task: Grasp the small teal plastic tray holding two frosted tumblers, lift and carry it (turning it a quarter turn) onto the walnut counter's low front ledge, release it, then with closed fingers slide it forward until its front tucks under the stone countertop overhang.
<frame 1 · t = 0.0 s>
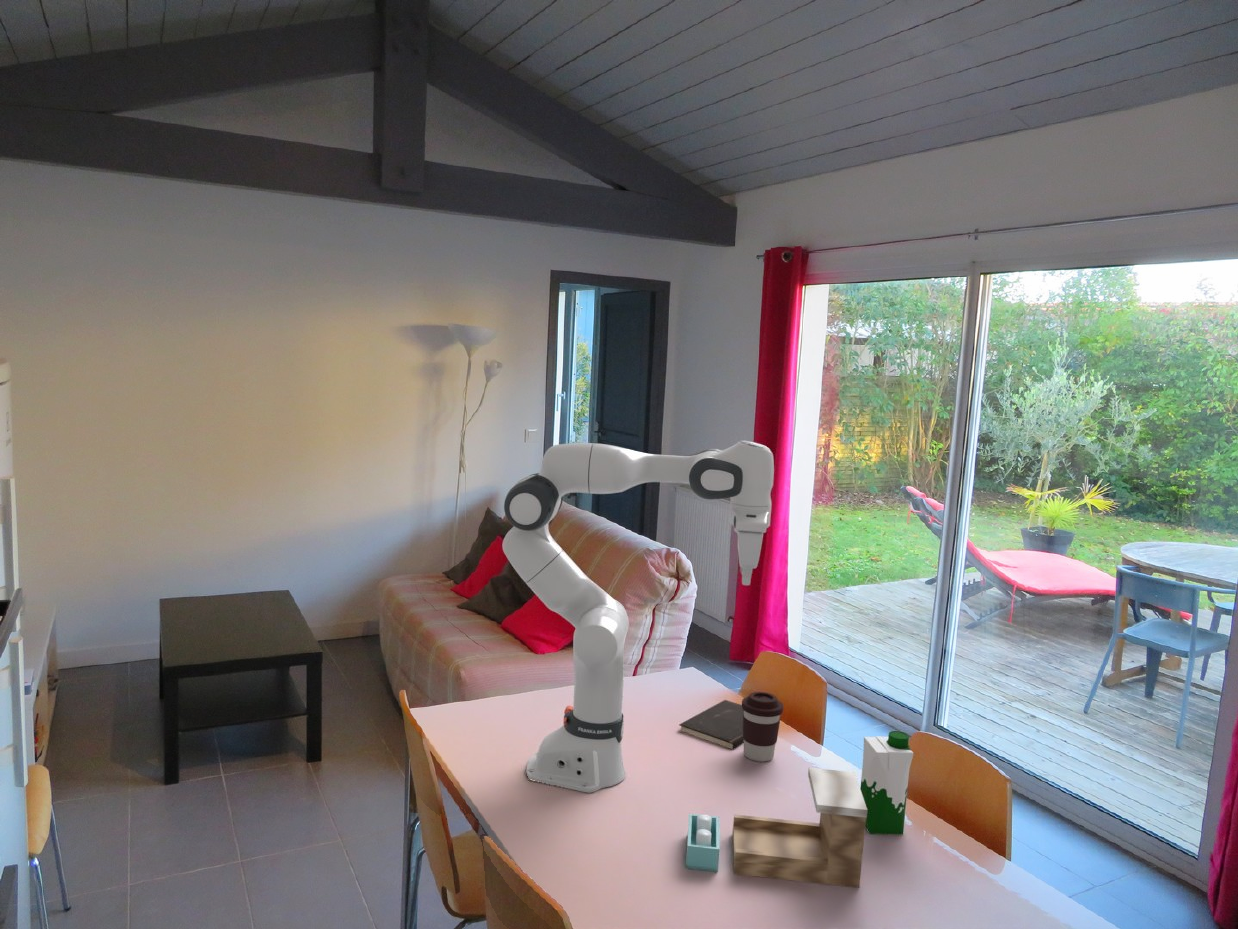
hand: (745, 579, 195), 48 cm above the table, fingers open, 8 cm apart
coffee cup: (758, 756, 218), on the table
milk carton: (879, 826, 188), on the table
hardcover book: (728, 729, 235), on the table
counter: (806, 861, 173), on the table
tray: (702, 852, 174), on the table
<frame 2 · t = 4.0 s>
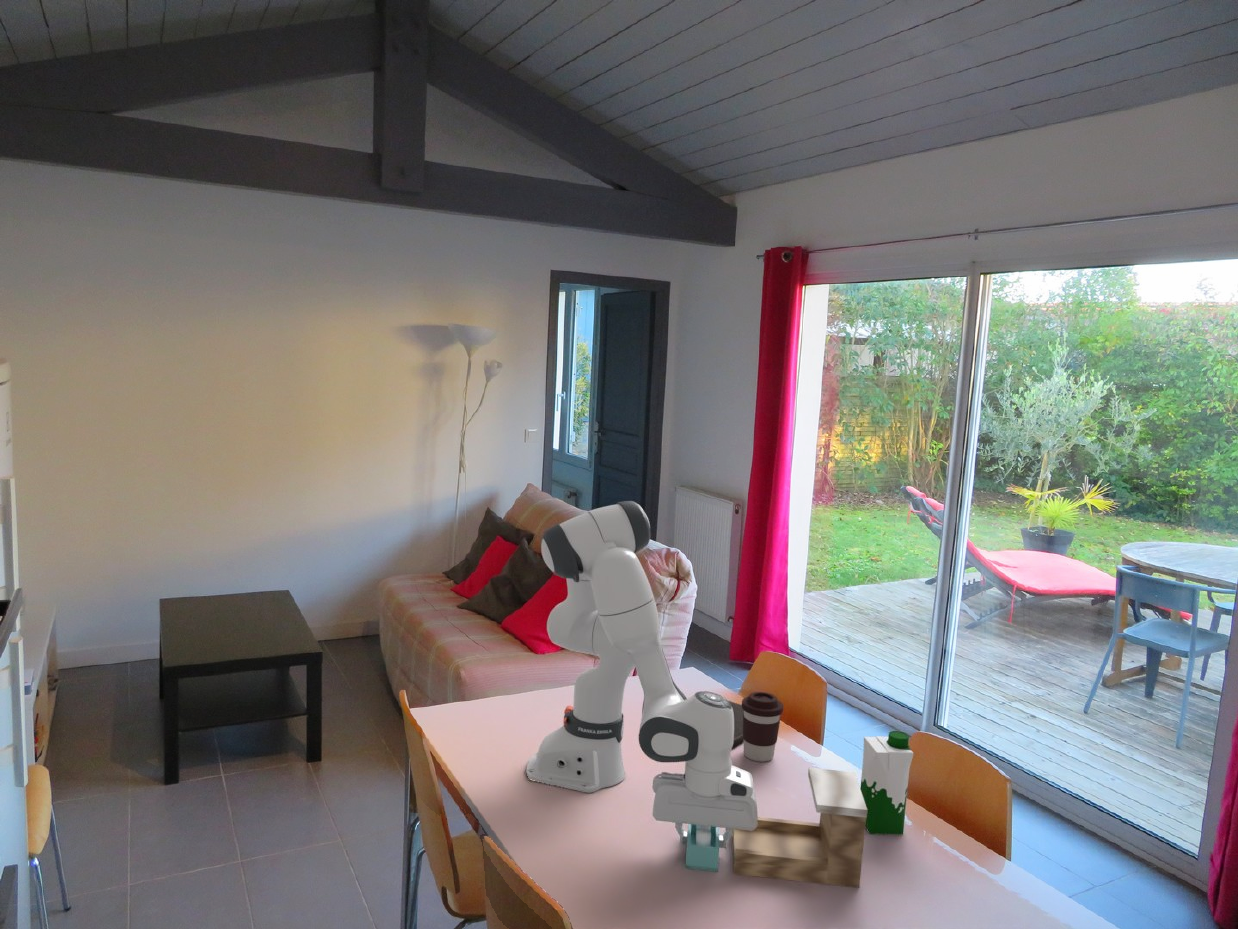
hand: (702, 844, 174), 2 cm above the table, fingers closed on tray, 6 cm apart
tray: (701, 852, 174), on the table, touching gripper
everything else where it was.
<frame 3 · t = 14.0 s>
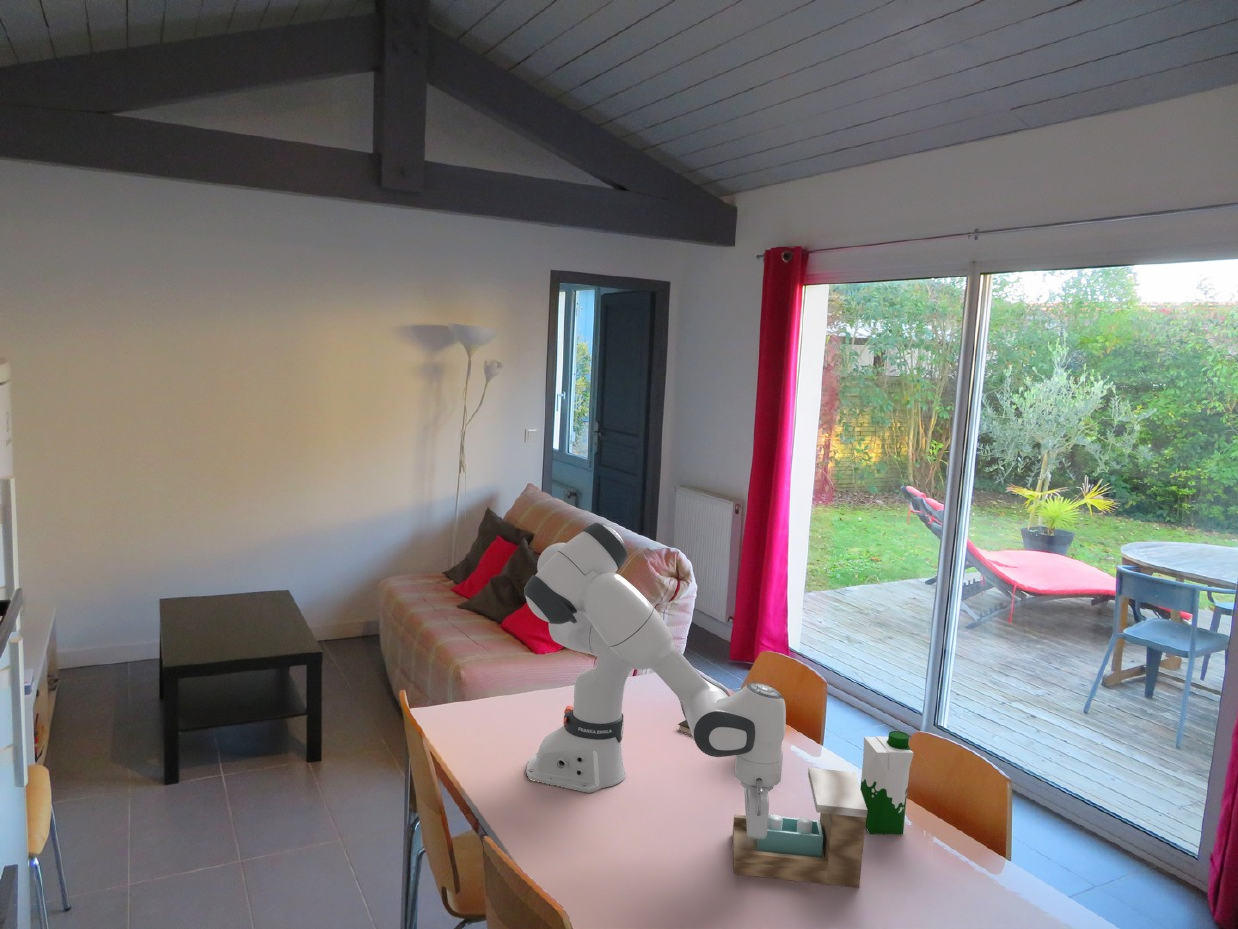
hand: (752, 836, 173), 4 cm above the table, fingers closed
tray: (787, 847, 173), point 2 cm above the table, touching counter, gripper
everything else where it was.
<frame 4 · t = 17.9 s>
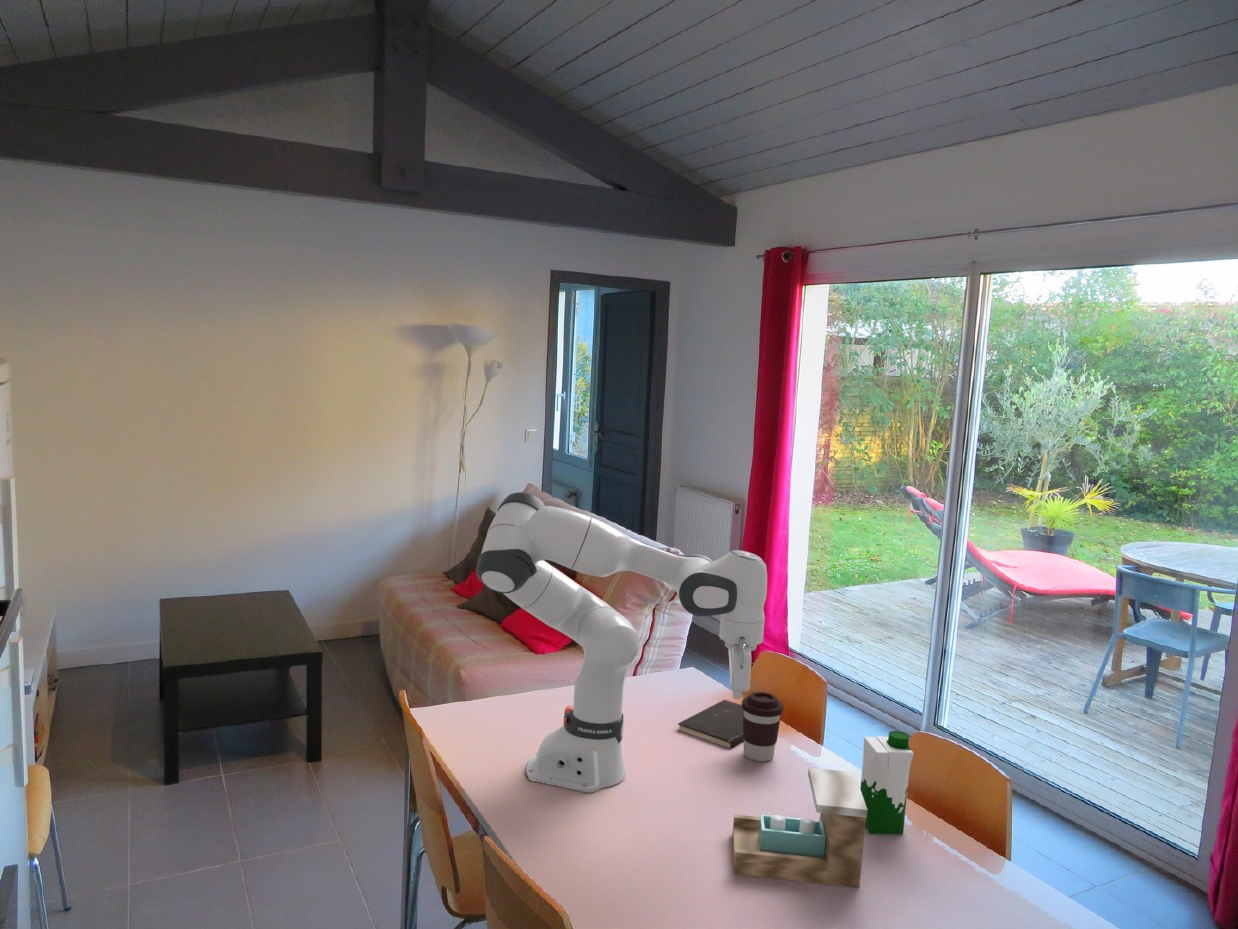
hand: (736, 696, 183), 27 cm above the table, fingers closed
tray: (790, 847, 173), point 2 cm above the table, touching counter
everything else where it was.
at the end: tray 0.0 cm from the target spot on the counter, point 2.5 cm above the counter's base; tray tilted 0°; tray moved 17.1 cm from its start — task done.
